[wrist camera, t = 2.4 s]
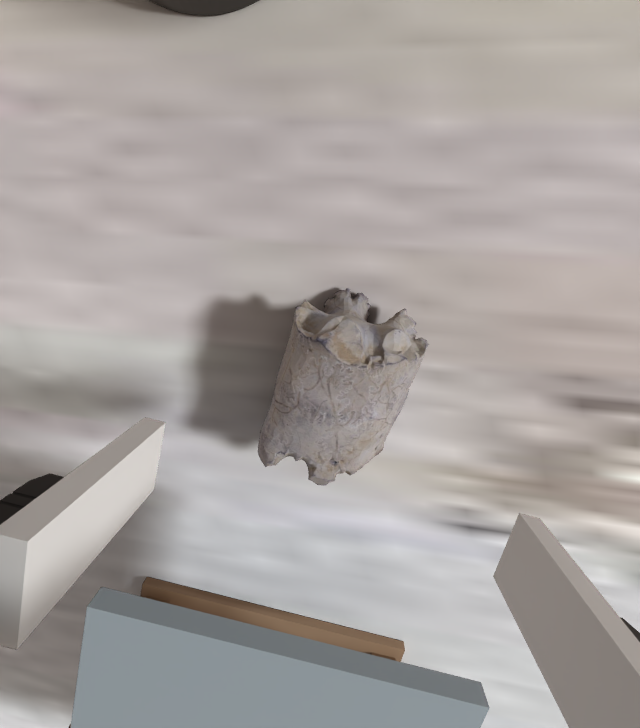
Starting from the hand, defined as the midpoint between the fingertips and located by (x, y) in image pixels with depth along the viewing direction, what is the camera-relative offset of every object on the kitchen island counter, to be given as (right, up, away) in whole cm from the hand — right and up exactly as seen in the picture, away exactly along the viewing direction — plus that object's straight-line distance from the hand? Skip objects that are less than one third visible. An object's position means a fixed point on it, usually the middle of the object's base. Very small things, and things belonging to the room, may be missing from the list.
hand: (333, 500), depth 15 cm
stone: (+1, +4, +15) cm, 15 cm away
